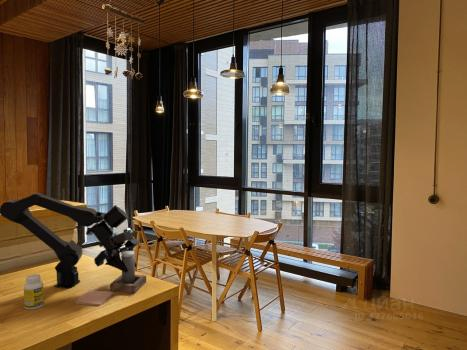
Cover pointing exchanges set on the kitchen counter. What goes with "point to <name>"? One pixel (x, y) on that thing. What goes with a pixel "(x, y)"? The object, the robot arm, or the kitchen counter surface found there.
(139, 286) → the walnut collar
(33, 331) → the kitchen counter surface
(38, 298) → the supplement bottle
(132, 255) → the grey cylinder
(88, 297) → the terracotta tile
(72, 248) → the robot arm
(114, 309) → the kitchen counter surface
